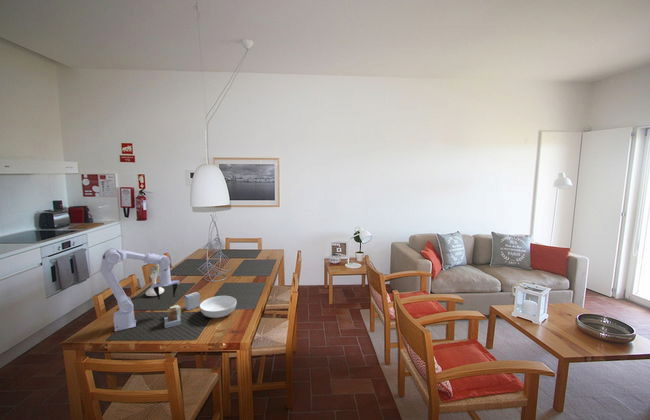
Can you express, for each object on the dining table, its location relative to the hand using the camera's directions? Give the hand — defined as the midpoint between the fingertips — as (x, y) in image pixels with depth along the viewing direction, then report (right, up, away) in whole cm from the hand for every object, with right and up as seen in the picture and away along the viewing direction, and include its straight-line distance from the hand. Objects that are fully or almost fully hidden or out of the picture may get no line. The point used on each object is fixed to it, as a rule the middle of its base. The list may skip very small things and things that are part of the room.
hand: (166, 297), depth 177 cm
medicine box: (+11, -9, +10) cm, 18 cm away
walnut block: (+8, -9, -9) cm, 15 cm away
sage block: (+6, -11, 0) cm, 12 cm away
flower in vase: (-23, -6, +30) cm, 38 cm away
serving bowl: (+30, -11, +3) cm, 32 cm away
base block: (+8, -12, -9) cm, 17 cm away
